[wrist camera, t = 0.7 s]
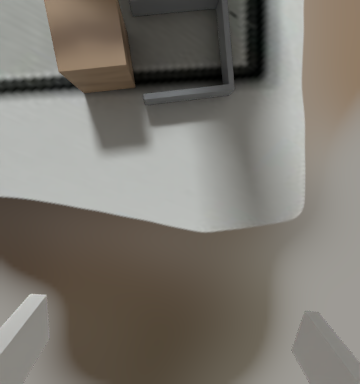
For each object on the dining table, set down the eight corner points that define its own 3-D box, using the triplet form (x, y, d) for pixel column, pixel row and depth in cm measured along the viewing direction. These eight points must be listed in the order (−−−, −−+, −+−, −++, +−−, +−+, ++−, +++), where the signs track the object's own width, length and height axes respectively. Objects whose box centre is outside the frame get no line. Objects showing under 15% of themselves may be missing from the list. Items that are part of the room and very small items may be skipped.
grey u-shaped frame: (131, 10, 31) (128, -6, 28) (220, 2, 32) (226, -14, 29) (145, 105, 33) (143, 99, 30) (228, 95, 34) (234, 89, 31)
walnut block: (73, 37, 31) (43, -5, 23) (127, 32, 32) (114, -11, 24) (84, 93, 32) (58, 71, 25) (135, 87, 33) (126, 64, 25)
